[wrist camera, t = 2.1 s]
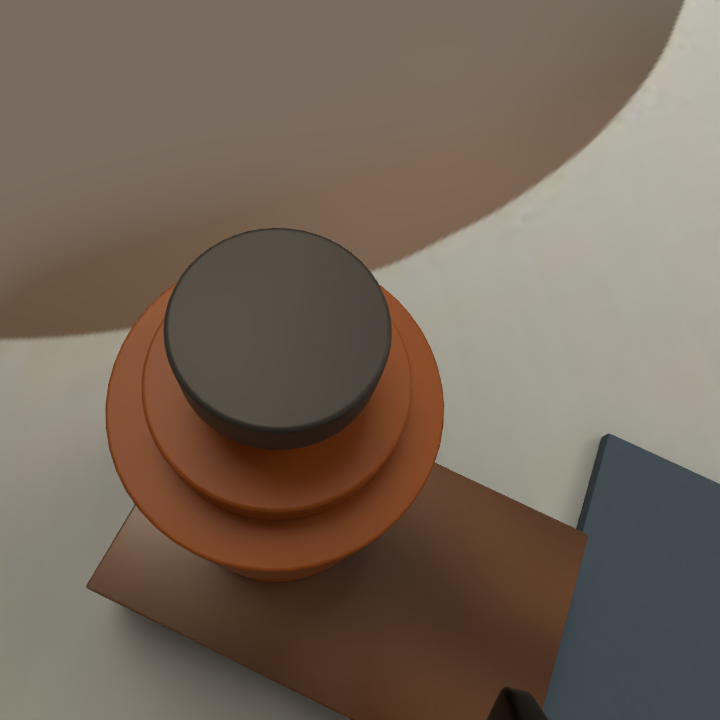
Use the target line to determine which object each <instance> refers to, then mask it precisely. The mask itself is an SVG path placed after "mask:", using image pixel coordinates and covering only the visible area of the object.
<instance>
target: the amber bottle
mask: <svg viewBox="0 0 720 720" xmlns="http://www.w3.org/2000/svg"><path fill="white" fill-rule="evenodd" d="M443 419H444V401H443V390H442V383H441V379H440V375H439V370H438V366H437V364H436V361H435V358H434V355H433V353H432V350H431V348H430V346H429V344H428V342H427V340H426V338H425V336H424V334H423V332H422V331H421V329H420V328H419V326H418V325H417V323H416V322H415V320H414V319H413V318H412V316H411V315H410V313H409V312H408V311H407V310H406V309H405V308H404V307H403V306H402V305H401V303H400V302H399V301H398V300H397V299H396V298H395V297H393V296H392V295H391V294H390V293H389V292H388V291H386V290H385V289H384V288H383V287H382V286H380V285H379V284H378V282H377V281H376V279H375V278H374V276H373V275H372V274H371V272H370V271H369V270H368V269H367V267H366V266H365V265H364V264H363V263H362V262H361V261H360V260H359V259H358V258H356V257H355V256H354V255H353V254H352V253H351V252H349V251H348V250H346V249H345V248H343V247H342V246H341V245H339V244H337V243H335V242H333V241H331V240H329V239H327V238H324V237H322V236H319V235H317V234H313V233H309V232H305V231H301V230H294V229H285V228H269V229H259V230H253V231H248V232H245V233H241V234H238V235H235V236H232V237H230V238H228V239H225V240H223V241H221V242H219V243H217V244H216V245H214V246H212V247H211V248H209V249H208V250H207V251H205V252H204V253H203V254H201V255H200V256H199V257H198V258H197V259H196V260H195V261H194V262H193V263H192V264H191V265H190V266H189V267H188V268H187V269H186V271H185V272H184V273H183V274H182V276H181V277H180V279H179V281H178V282H177V283H176V284H174V285H173V286H172V287H171V288H169V289H168V290H166V291H165V292H164V293H163V294H161V295H160V296H159V297H158V298H157V299H156V300H155V301H154V302H153V303H152V304H151V305H150V306H149V307H148V308H147V309H146V311H145V312H144V313H143V314H142V315H141V317H140V318H139V319H138V320H137V322H136V323H135V324H134V326H133V327H132V329H131V331H130V332H129V334H128V336H127V337H126V339H125V341H124V342H123V344H122V346H121V349H120V351H119V353H118V356H117V358H116V360H115V363H114V366H113V370H112V373H111V377H110V380H109V384H108V391H107V399H106V431H107V437H108V443H109V450H110V453H111V456H112V459H113V462H114V465H115V468H116V471H117V473H118V475H119V478H120V480H121V482H122V484H123V486H124V488H125V490H126V492H127V493H128V495H129V496H130V498H131V499H132V500H133V502H134V503H135V505H136V506H137V508H138V509H139V511H140V512H141V513H142V514H143V515H144V516H145V517H146V518H147V519H148V520H149V521H150V522H151V523H152V524H153V526H154V527H155V528H156V529H158V530H159V531H160V532H161V533H163V534H164V535H165V536H167V537H168V538H169V539H170V540H172V541H173V542H174V543H176V544H177V545H179V546H181V547H183V548H184V549H186V550H188V551H189V552H191V553H193V554H195V555H197V556H199V557H201V558H203V559H205V560H208V561H210V562H212V563H214V564H216V565H219V566H221V567H223V568H225V569H227V570H230V571H232V572H234V573H237V574H239V575H242V576H244V577H247V578H251V579H255V580H259V581H267V582H288V581H294V580H300V579H303V578H306V577H310V576H313V575H315V574H317V573H319V572H322V571H324V570H326V569H328V568H329V567H331V566H333V565H335V564H336V563H338V562H340V561H341V560H343V559H345V558H347V557H348V556H350V555H352V554H354V553H355V552H357V551H359V550H360V549H362V548H363V547H365V546H366V545H368V544H370V543H371V542H373V541H374V540H376V539H377V538H379V537H380V536H381V535H382V534H383V533H385V532H386V531H387V530H388V529H389V528H390V527H391V526H393V525H394V524H395V523H396V522H397V521H398V520H399V519H400V518H401V517H402V515H403V514H404V513H405V512H406V511H407V510H408V508H409V507H410V506H411V505H412V504H413V502H414V501H415V499H416V498H417V496H418V495H419V493H420V491H421V490H422V488H423V487H424V485H425V483H426V481H427V479H428V477H429V475H430V472H431V470H432V468H433V466H434V463H435V460H436V456H437V453H438V450H439V447H440V442H441V436H442V430H443Z"/></svg>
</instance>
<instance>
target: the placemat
mask: <svg viewBox="0 0 720 720" xmlns="http://www.w3.org/2000/svg"><path fill="white" fill-rule="evenodd" d="M577 530H579V531H581V532H583V533H586V534H587V535H588V540H587V544H586V548H585V551H584V555H583V559H582V563H581V566H580V570H579V574H578V578H577V582H576V585H575V589H574V593H573V597H572V600H571V604H570V608H569V612H568V615H567V619H566V623H565V627H564V631H563V634H562V638H561V642H560V646H559V649H558V653H557V657H556V661H555V664H554V668H553V672H552V676H551V680H550V683H549V687H548V691H547V695H546V698H545V702H544V706H543V712H544V713H545V715H546V716H547V718H548V719H549V720H720V484H718V483H716V482H714V481H712V480H710V479H707V478H705V477H703V476H701V475H699V474H697V473H694V472H692V471H690V470H688V469H686V468H683V467H681V466H679V465H677V464H675V463H673V462H670V461H668V460H666V459H664V458H662V457H659V456H657V455H655V454H653V453H651V452H649V451H646V450H644V449H642V448H640V447H638V446H635V445H633V444H631V443H629V442H627V441H625V440H622V439H620V438H618V437H616V436H614V435H612V434H607V435H605V436H603V437H602V439H601V442H600V446H599V450H598V453H597V457H596V460H595V464H594V468H593V471H592V475H591V479H590V482H589V486H588V490H587V493H586V497H585V500H584V504H583V508H582V511H581V515H580V519H579V522H578V526H577Z"/></svg>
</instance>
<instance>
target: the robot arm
mask: <svg viewBox="0 0 720 720" xmlns="http://www.w3.org/2000/svg"><path fill="white" fill-rule="evenodd" d="M487 720H549V719H548V718H547V716H546V715H545V713H544V712H543V710H542V709H541V707H540V706H539V704H538V703H537V701H536V700H535V698H534V697H533V696H532V695H531V694H530V693H529V692H527V691H525V690H520V689H516V688H511V687H504V688H502V689H501V691H500V692H499V694H498V696H497V699H496V701H495V703H494V705H493V707H492V709H491V711H490V713H489V716H488V718H487Z"/></svg>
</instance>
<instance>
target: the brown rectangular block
mask: <svg viewBox="0 0 720 720" xmlns="http://www.w3.org/2000/svg"><path fill="white" fill-rule="evenodd" d="M587 540H588V535H587V534H586V533H583V532H581V531H579V530H577V529H575V528H573V527H571V526H568V525H566V524H564V523H562V522H560V521H558V520H556V519H554V518H551V517H549V516H547V515H545V514H543V513H541V512H539V511H536V510H534V509H532V508H530V507H528V506H526V505H524V504H522V503H519V502H517V501H515V500H513V499H511V498H509V497H507V496H504V495H502V494H500V493H498V492H496V491H494V490H492V489H490V488H487V487H485V486H483V485H481V484H479V483H477V482H475V481H473V480H470V479H468V478H466V477H464V476H462V475H460V474H458V473H455V472H453V471H451V470H449V469H447V468H445V467H443V466H441V465H438V464H436V463H434V466H433V468H432V470H431V472H430V475H429V477H428V479H427V481H426V483H425V485H424V487H423V488H422V490H421V491H420V493H419V495H418V496H417V498H416V499H415V501H414V502H413V504H412V505H411V506H410V507H409V508H408V510H407V511H406V512H405V513H404V514H403V515H402V517H401V518H400V519H399V520H398V521H397V522H396V523H395V524H394V525H393V526H391V527H390V528H389V529H388V530H387V531H386V532H385V533H383V534H382V535H381V536H380V537H379V538H377V539H376V540H374V541H373V542H371V543H370V544H368V545H366V546H365V547H363V548H362V549H360V550H359V551H357V552H355V553H354V554H352V555H350V556H348V557H347V558H345V559H343V560H341V561H340V562H338V563H336V564H335V565H333V566H331V567H329V568H328V569H326V570H324V571H322V572H319V573H317V574H315V575H313V576H310V577H306V578H303V579H300V580H294V581H288V582H267V581H259V580H255V579H251V578H247V577H244V576H242V575H239V574H237V573H234V572H232V571H230V570H227V569H225V568H223V567H221V566H219V565H216V564H214V563H212V562H210V561H208V560H205V559H203V558H201V557H199V556H197V555H195V554H193V553H191V552H189V551H188V550H186V549H184V548H183V547H181V546H179V545H177V544H176V543H174V542H173V541H172V540H170V539H169V538H168V537H167V536H165V535H164V534H163V533H161V532H160V531H159V530H158V529H156V528H155V527H154V526H153V524H152V523H151V522H150V521H149V520H148V519H147V518H146V517H145V516H144V515H143V514H142V513H141V512H140V511H139V509H138V508H137V506H136V505H134V507H133V509H132V510H131V512H130V514H129V515H128V517H127V519H126V520H125V522H124V524H123V525H122V527H121V529H120V530H119V532H118V534H117V535H116V537H115V539H114V540H113V542H112V544H111V545H110V547H109V549H108V550H107V552H106V554H105V555H104V557H103V559H102V560H101V562H100V564H99V565H98V567H97V569H96V570H95V572H94V574H93V575H92V577H91V579H90V580H89V582H88V584H87V586H86V587H87V588H88V589H90V590H92V591H94V592H96V593H98V594H100V595H102V596H104V597H106V598H108V599H110V600H112V601H114V602H116V603H118V604H120V605H122V606H124V607H126V608H128V609H130V610H132V611H134V612H136V613H138V614H140V615H142V616H144V617H146V618H148V619H150V620H152V621H154V622H156V623H158V624H160V625H162V626H164V627H166V628H168V629H170V630H172V631H174V632H176V633H178V634H180V635H182V636H184V637H186V638H188V639H190V640H192V641H194V642H196V643H198V644H200V645H202V646H204V647H207V648H209V649H211V650H213V651H215V652H217V653H219V654H221V655H223V656H225V657H227V658H229V659H231V660H233V661H235V662H237V663H239V664H241V665H243V666H245V667H247V668H249V669H251V670H253V671H255V672H257V673H259V674H261V675H263V676H265V677H267V678H269V679H271V680H273V681H275V682H277V683H279V684H281V685H283V686H285V687H287V688H289V689H291V690H293V691H295V692H297V693H299V694H301V695H303V696H305V697H307V698H309V699H311V700H313V701H315V702H317V703H319V704H321V705H323V706H325V707H327V708H329V709H331V710H333V711H335V712H337V713H339V714H341V715H343V716H345V717H347V718H349V719H351V720H487V718H488V716H489V713H490V711H491V709H492V707H493V705H494V703H495V701H496V699H497V696H498V694H499V692H500V691H501V689H502V688H504V687H511V688H516V689H520V690H525V691H527V692H529V693H530V694H531V695H532V696H533V697H534V698H535V700H536V701H537V703H538V704H539V706H540V707H541V709H542V710H543V706H544V702H545V698H546V695H547V691H548V687H549V683H550V680H551V676H552V672H553V668H554V664H555V661H556V657H557V653H558V649H559V646H560V642H561V638H562V634H563V631H564V627H565V623H566V619H567V615H568V612H569V608H570V604H571V600H572V597H573V593H574V589H575V585H576V582H577V578H578V574H579V570H580V566H581V563H582V559H583V555H584V551H585V548H586V544H587Z"/></svg>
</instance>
